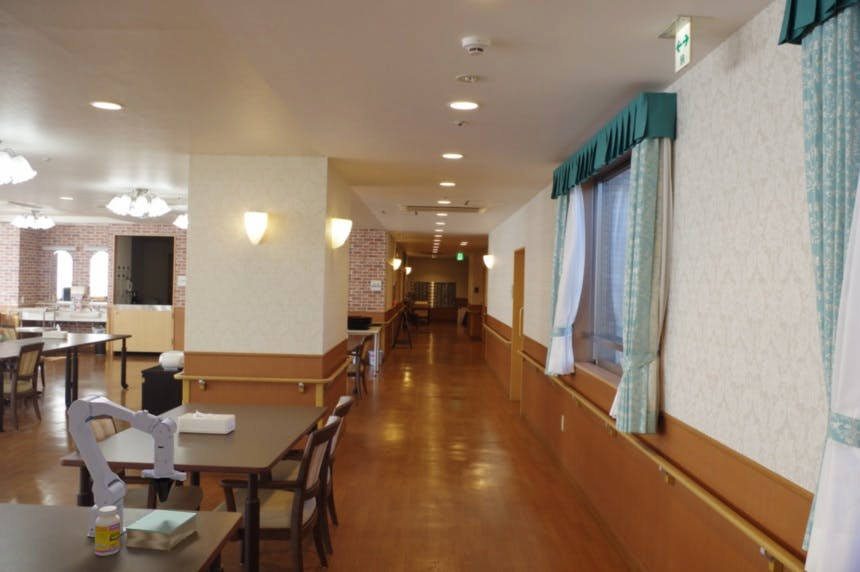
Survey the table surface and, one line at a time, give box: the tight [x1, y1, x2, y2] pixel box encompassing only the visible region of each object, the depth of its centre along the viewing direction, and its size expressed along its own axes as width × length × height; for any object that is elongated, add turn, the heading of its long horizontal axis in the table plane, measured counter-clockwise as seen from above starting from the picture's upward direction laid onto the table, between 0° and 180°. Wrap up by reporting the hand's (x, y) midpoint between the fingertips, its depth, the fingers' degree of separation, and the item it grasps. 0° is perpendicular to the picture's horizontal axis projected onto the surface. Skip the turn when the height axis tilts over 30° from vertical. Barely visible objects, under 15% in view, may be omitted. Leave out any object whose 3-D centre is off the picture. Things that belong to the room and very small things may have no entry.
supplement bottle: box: [94, 506, 121, 557], centre depth 188 cm, size 7×7×13 cm
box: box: [126, 515, 197, 551], centre depth 198 cm, size 14×15×5 cm
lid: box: [125, 509, 198, 534], centre depth 198 cm, size 14×15×1 cm
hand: (163, 501), depth 201 cm, fingers closed
